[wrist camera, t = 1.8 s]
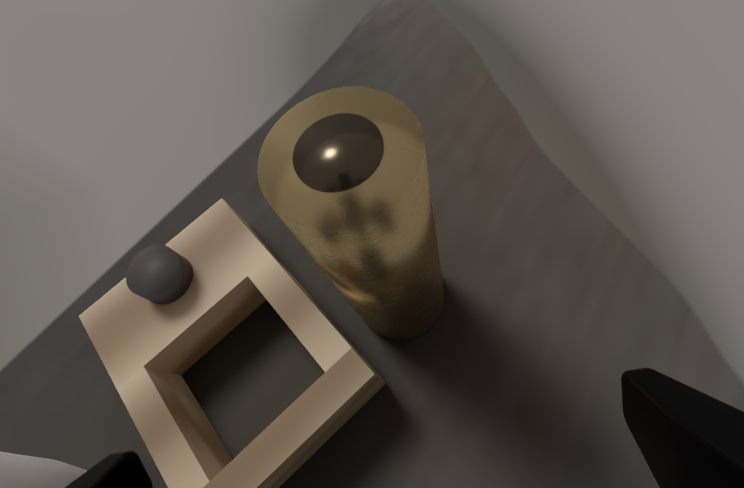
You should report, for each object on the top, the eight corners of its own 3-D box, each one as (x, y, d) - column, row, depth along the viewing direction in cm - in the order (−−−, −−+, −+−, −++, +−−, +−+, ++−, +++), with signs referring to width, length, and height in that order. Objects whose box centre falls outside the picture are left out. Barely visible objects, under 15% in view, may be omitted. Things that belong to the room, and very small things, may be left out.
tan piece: (462, 296, 22) (461, 141, 10) (398, 359, 21) (325, 263, 10) (402, 241, 23) (347, 60, 12) (342, 297, 23) (225, 157, 12)
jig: (386, 383, 21) (367, 368, 17) (235, 530, 19) (176, 553, 15) (247, 223, 26) (208, 184, 22) (120, 330, 25) (55, 308, 21)
